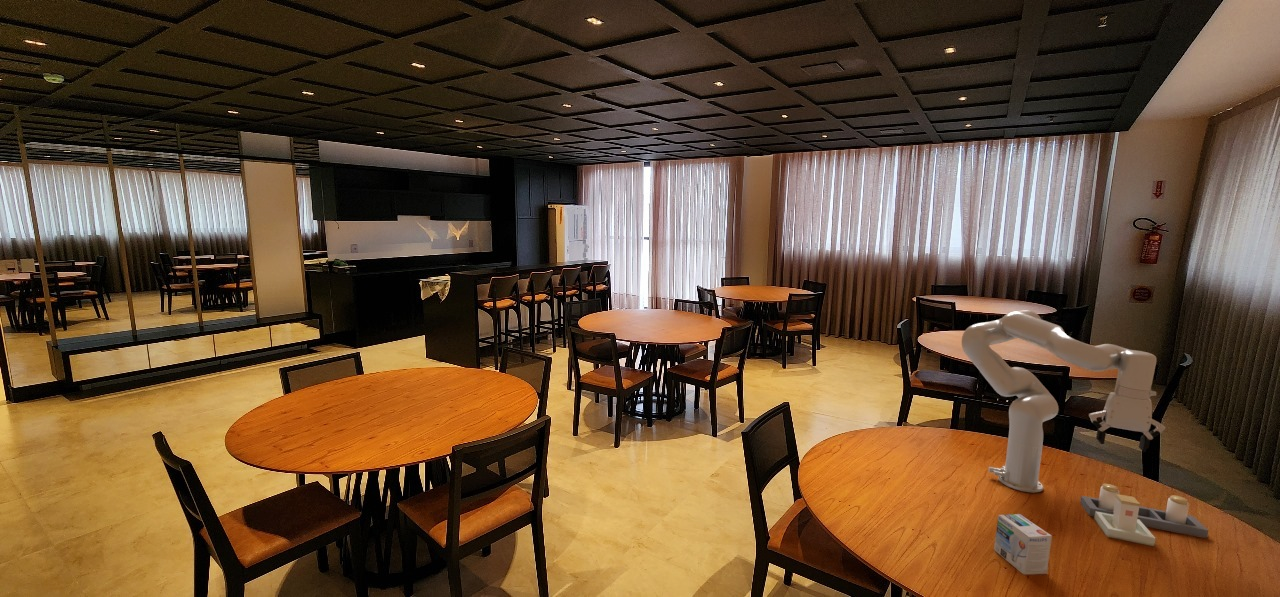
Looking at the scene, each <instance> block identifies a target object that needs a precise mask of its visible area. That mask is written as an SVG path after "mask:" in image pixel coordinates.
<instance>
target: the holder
mask: <svg viewBox="0 0 1280 597" xmlns="http://www.w3.org/2000/svg"><path fill="white" fill-rule="evenodd" d="M1079 503H1080V505H1081V506H1082V508H1083V509H1084V511H1085V512H1086V513H1087V514H1088V516H1091V517H1095V511H1097V512H1102V513H1107V514H1113V512H1114V511H1112V510H1106V509H1101V508H1098V503H1099V498H1096V497H1090V496H1086V495H1080V500H1079ZM1165 515H1166V510H1162V509H1155V508H1150V507H1145V506H1141V505H1140V507H1139V512H1138V518H1137V519H1139V520H1140V521H1141V522H1142V523H1143V524H1144V525H1145V527H1146V528H1152V529H1157V530H1161V531H1167V532H1173V533H1179V534H1182V535H1188V536H1193V537H1198V538H1203V539H1208V534H1209V529H1208V528H1206V527H1205V525H1203V523H1201V522H1200V521H1199V520H1198V519H1197V518H1196V517H1195V516H1193V515H1191V514H1187V520H1186V524H1181V523H1175V522H1170V521H1165Z"/></svg>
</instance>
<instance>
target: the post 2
mask: <svg viewBox="0 0 1280 597" xmlns="http://www.w3.org/2000/svg"><path fill="white" fill-rule="evenodd" d="M1166 503H1167V504H1166V510H1165V511H1166V515H1165V521H1170V522H1175V523H1181V524H1186V520H1187V515H1189V514H1188V513H1189V508H1190V503H1189V502H1188V499H1187V498H1185V497H1183V496H1180V495H1175V494H1174V495H1170V496H1169V497H1168V499H1167V502H1166Z"/></svg>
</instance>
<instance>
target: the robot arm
mask: <svg viewBox="0 0 1280 597" xmlns="http://www.w3.org/2000/svg"><path fill="white" fill-rule="evenodd" d="M1015 339H1016V340H1017V339H1019V340H1022V341H1025V342H1028V343H1029V344H1033V345H1035V346H1038V347H1041V348H1043V349H1045V350H1047V351H1049V352H1050V353H1051V354H1052V355H1054V356H1056V357H1057V358H1059V359H1060V360H1062V361H1065V362H1067V363H1068V364H1071V365H1075V366H1077V367H1079V368H1082V369H1085V370H1087V371H1091V372H1104V371H1108V370H1114V369H1115V370H1117V371H1118V372H1117V376H1116V381H1115V386H1114V391H1112V392H1110V393H1109V394H1108V396H1107V399H1106V401H1105V405H1104V408H1103V410H1100V411H1096V412H1091V413H1088V417H1089V418H1090V421H1091V423H1092V424H1093V425H1094V427H1096V428H1097V432H1096V437H1095V438H1096V440H1097V441H1098V443H1099V444H1101V445H1104V444H1105V441H1106V435H1107V432H1106V430H1107V429H1109V428H1116V429H1122V430H1126V431H1127V430H1128V431H1132V432H1140V433H1142V434H1143V435H1141V436H1140V440H1139V441H1140V442H1139V445H1138V448H1139V449H1140V450H1141V452H1144V453H1146V452H1147V449H1150V443H1151V441H1152V440H1153V439H1154V438H1155V437H1157V436H1158V437H1159V436H1160V435H1161V433H1163V432H1164V431H1165V430H1166V429H1167V427H1166V426H1165V425H1164V424H1162V423H1160V422H1159V421H1157V420H1155V419H1153V418H1152V417H1153V416H1152V414H1153V407H1152V406H1153V404H1152V400H1151V397H1153V396H1154V397H1156V396H1157V391H1154V390H1152V385H1153V380H1154V375H1155V371H1156V370H1155V369H1156V365H1157V357H1156V355H1154V354H1152V353H1150V352H1146V351H1143V350H1135V349H1129V348H1125V347H1123V346H1119V345H1117V344H1111V343H1104V344H1099V345H1091V344H1088V343H1085V342H1083V341H1080V340H1077V339H1075V338H1073V337H1071V336H1070V335H1067V333H1065V330H1064V329H1063V327H1062V326H1060V325H1058V324H1055V323H1054V322H1053V323H1052V322H1050V321H1047V320H1044V319H1042V318H1041V316H1040V315H1039V314H1037V313H1036V312H1034V311H1032V310H1026V309H1025V310H1023V309H1022V310H1016V311H1011V312H1008V313H1006V314H1004V316H1003V317H1001V318H999V319H996V320H991V321H985V322H977V323H974V324H972V325H969V326H968V327H967V328H966V329H965V330H964V331H963V334H962V337H961V346H962V347H961V348H962V349H963V350H962V351H963V352H964V354H965V355H966V357H967V358H968V359H969V360H970V361H971V363H972V364H973V365H974V366H975V367H976V368H977V369H978V371H979V373H980V374H981V375H982V376H983V378H984V379H985V380H986V381H987V382H988V384H989V385H990V386H991V387H992V389H993V390H994V391H995V392H996V393H997V394H999V395H1000V396H1001V397H1005V398H1007V397H1009V398H1010V397H1014V396H1016V397H1017V398H1015V400H1013V402H1011V403H1010V405H1009V409H1008V419H1009V420H1008V421H1009V422H1008V424H1009V426H1008V428H1009V430H1008V438H1007V439H1008V441H1007V446H1006V447H1007V449H1006V456H1005V458H1006V459H1005V463H1004V465H1002V467H999V468H998V467H994V466H988V473H992V474H993V475H994V476H998V481H999V482H1000V483H1001V484H1003V485H1004V486H1007V487H1008V488H1011V489H1013V490H1016V491H1020V492H1024V493H1025V492H1026V493H1034V494H1035V493H1036V494H1037V493H1040V492H1042V491H1043V490H1044V485H1043V484H1042V483H1041V482H1040V481H1039V476H1040V470H1041V461H1042V460H1041V459H1042V455H1043V454H1042V451H1043V442H1044V430H1043V429H1044V428H1043V423H1044V422H1046V421H1049V420H1051V419H1053V418H1055V417H1056V416H1057V415H1058V413H1059V405H1058V404H1059V403H1058V402H1057V400H1056V399H1055V397H1054V396H1053V395H1052V394H1051V393H1050V391H1049V390H1048V389H1047V388H1046V387H1045V385H1043V383H1042V382H1041V381H1040V379H1038V378H1037V376H1036V375H1034V374H1033V373H1032V372H1031V371H1029V369H1026V368H1024V367H1019V366H1013V367H1012V366H1009V364H1008V363H1007V362H1006V361H1005V360H1004V359H1003V357H1002V356H1001V355H1000V354H999V353H997V352H996V351H995V350H993V349H992V348H991V347H990V346H993V345H999V344H1002V343H1005V342H1008V341H1012V340H1015ZM1097 418H1101V420H1102V421H1101V422H1100V423H1099V421H1098V420H1097ZM1151 425H1153V426H1154V427H1155V428H1154V429H1152V430H1150V429H1151Z"/></svg>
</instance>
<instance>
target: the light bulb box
mask: <svg viewBox="0 0 1280 597" xmlns="http://www.w3.org/2000/svg"><path fill="white" fill-rule="evenodd" d="M995 531H996V533H995V540H994V548H993V550H994V552H996V553H997V554H998V555H999V556H1001V557H1002V558H1003V559H1005V561H1006V562H1008V563H1009V564H1010V565H1012V567H1014V568H1015V569H1016V570H1017V571H1018V572H1020V573H1021V574H1022V575H1024V576H1025V575H1046V574H1048V567H1049V566H1048V565H1049V560H1050V553H1051V552H1050V551H1051V546H1052V545H1051V544H1052V540H1053V539H1052V538H1053V536H1052V534H1050V533H1048V532H1047V531H1045V530H1044V529H1043V528H1041V527H1039V526H1038V525H1037V524H1035V523H1033V522H1032V521H1030V520H1029V519H1028V518H1026V517H1025V516H1023V515H1022V514H1021V513H1017V514H1016V513H1015V514H1013V513H1012V514H999V515H998V516H997V524H996V530H995Z"/></svg>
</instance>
